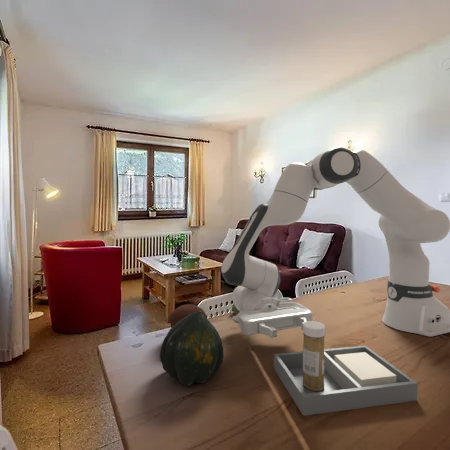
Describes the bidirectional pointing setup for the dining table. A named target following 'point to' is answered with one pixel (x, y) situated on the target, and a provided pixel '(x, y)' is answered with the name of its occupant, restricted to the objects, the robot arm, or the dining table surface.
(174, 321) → the muffin
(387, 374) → the cream rectangular block
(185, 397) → the dining table surface
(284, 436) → the dining table surface
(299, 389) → the tray
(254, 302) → the robot arm
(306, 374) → the sprinkles bottle
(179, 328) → the squash
